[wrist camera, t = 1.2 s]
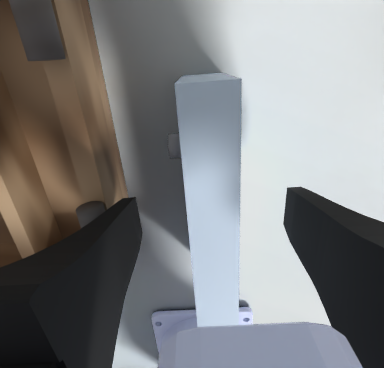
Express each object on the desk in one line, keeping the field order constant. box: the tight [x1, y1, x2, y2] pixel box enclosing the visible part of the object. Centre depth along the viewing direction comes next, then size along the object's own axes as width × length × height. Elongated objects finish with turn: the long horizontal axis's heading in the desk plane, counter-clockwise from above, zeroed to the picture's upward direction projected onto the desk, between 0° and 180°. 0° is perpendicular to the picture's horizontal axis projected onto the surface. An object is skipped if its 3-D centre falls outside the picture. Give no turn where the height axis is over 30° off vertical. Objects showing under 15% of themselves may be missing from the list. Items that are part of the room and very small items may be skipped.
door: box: [168, 73, 242, 327], centre depth 13 cm, size 12×3×6 cm, turn 4°
